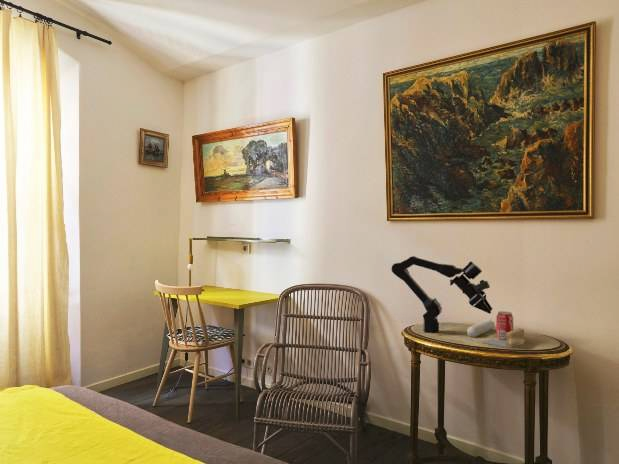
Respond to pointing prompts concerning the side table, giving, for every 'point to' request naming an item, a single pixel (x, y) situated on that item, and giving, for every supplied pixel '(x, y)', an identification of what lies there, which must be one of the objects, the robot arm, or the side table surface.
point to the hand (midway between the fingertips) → (491, 311)
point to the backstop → (514, 338)
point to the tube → (480, 328)
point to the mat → (495, 342)
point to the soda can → (504, 324)
